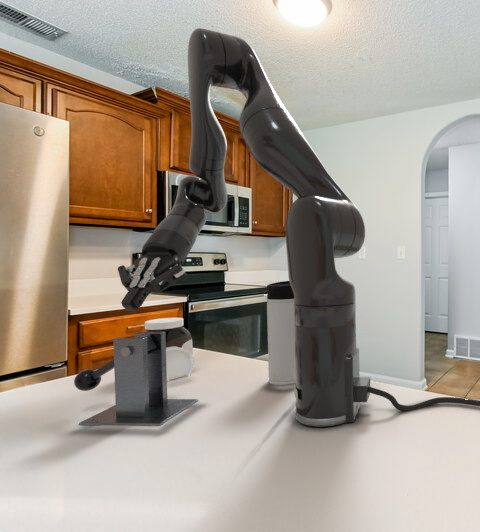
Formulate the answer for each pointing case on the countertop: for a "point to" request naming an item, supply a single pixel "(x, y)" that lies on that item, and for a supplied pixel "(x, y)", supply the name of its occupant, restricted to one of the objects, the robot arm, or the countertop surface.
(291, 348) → the travel mug
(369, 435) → the countertop surface
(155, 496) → the countertop surface
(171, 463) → the countertop surface
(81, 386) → the tap lever
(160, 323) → the spread jar
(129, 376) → the bracket
